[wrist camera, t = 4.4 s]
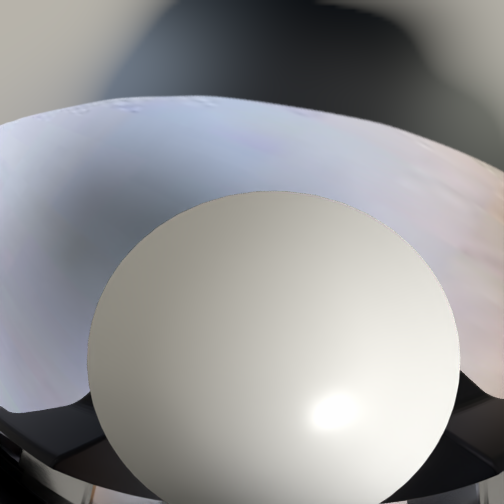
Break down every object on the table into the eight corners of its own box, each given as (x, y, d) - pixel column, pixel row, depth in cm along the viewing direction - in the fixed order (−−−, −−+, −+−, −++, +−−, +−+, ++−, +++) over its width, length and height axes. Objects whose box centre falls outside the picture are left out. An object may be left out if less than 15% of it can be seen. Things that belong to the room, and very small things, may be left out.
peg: (281, 367, 15) (238, 557, 2) (233, 309, 16) (45, 343, 3) (341, 319, 15) (502, 394, 2) (292, 260, 16) (289, 118, 3)
